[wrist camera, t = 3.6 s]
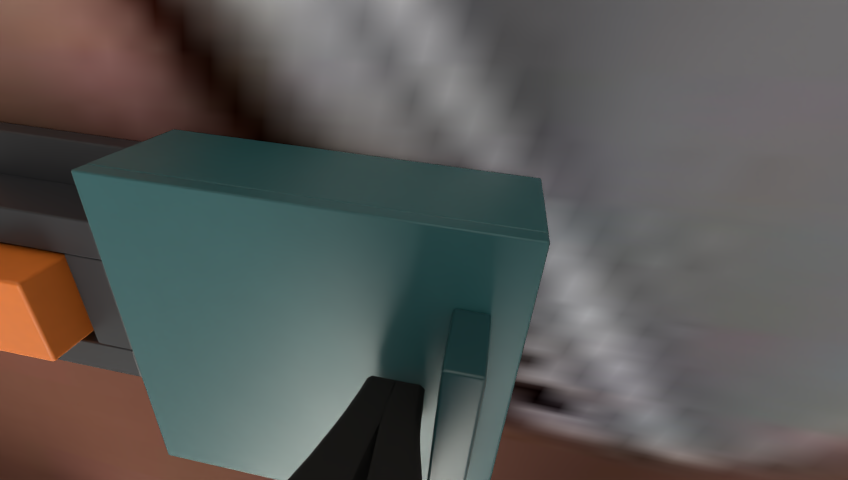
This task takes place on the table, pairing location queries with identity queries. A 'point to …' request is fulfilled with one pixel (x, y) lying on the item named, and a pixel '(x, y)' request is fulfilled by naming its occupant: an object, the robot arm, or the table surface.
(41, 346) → the on key
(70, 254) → the calculator
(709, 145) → the table surface
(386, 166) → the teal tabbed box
